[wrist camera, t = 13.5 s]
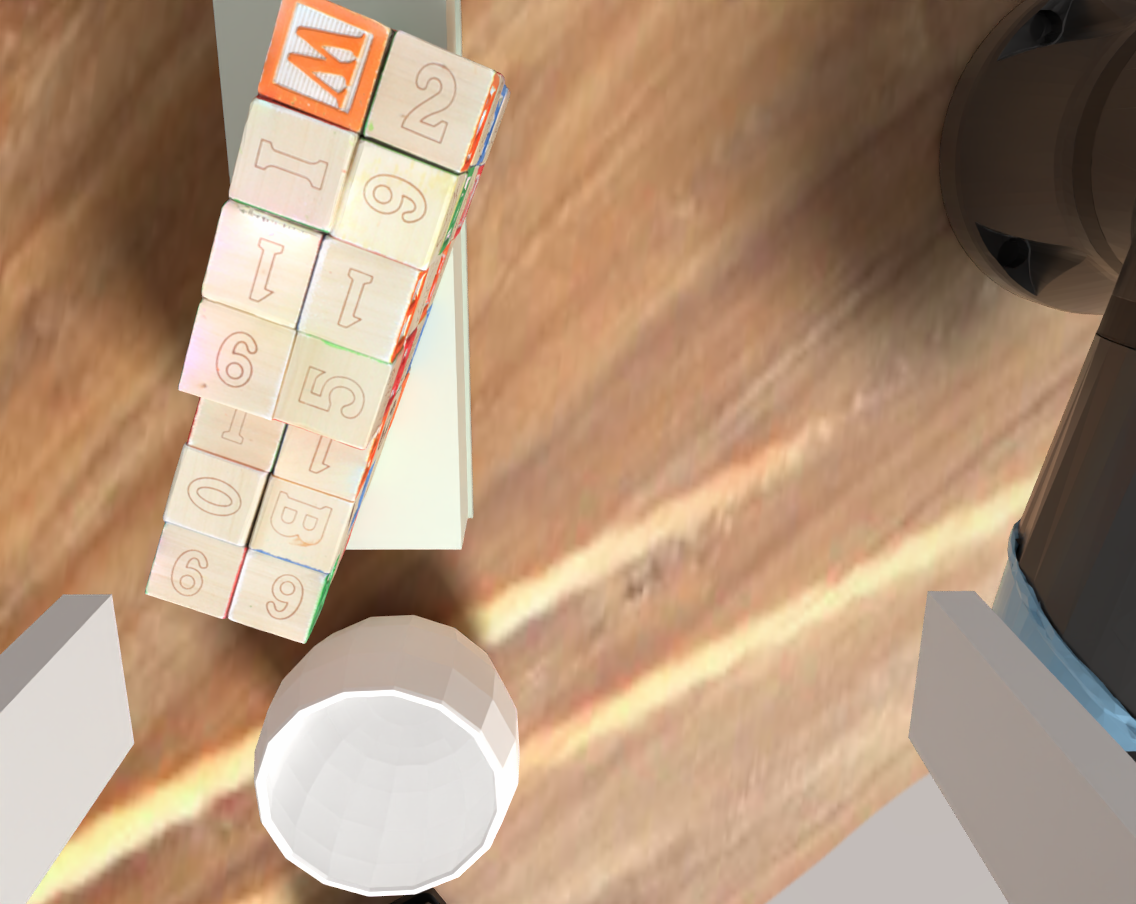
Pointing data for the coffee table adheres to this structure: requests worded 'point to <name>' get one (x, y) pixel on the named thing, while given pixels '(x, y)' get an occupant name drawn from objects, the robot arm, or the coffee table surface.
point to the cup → (388, 757)
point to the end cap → (421, 898)
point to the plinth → (442, 362)
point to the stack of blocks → (316, 306)
